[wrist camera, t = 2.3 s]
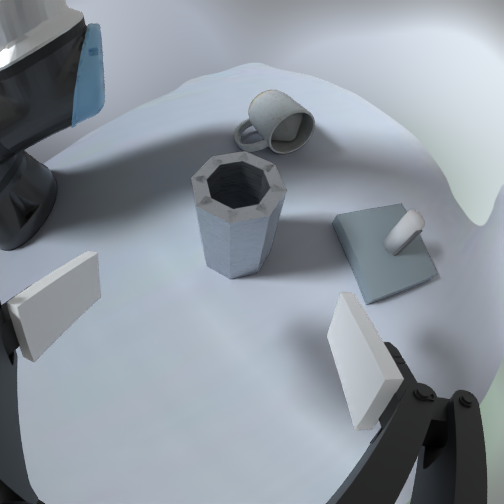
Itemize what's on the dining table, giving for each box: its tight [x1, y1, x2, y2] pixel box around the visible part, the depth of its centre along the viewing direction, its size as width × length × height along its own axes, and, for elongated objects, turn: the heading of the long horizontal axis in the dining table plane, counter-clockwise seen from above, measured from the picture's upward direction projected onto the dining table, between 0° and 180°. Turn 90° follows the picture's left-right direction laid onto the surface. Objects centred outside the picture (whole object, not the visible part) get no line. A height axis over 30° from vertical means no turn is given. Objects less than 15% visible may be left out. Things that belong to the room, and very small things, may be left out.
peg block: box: [332, 203, 437, 305], centre depth 29 cm, size 11×11×8 cm
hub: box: [191, 151, 287, 279], centre depth 27 cm, size 7×7×11 cm
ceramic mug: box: [234, 90, 315, 154], centre depth 37 cm, size 11×8×8 cm
